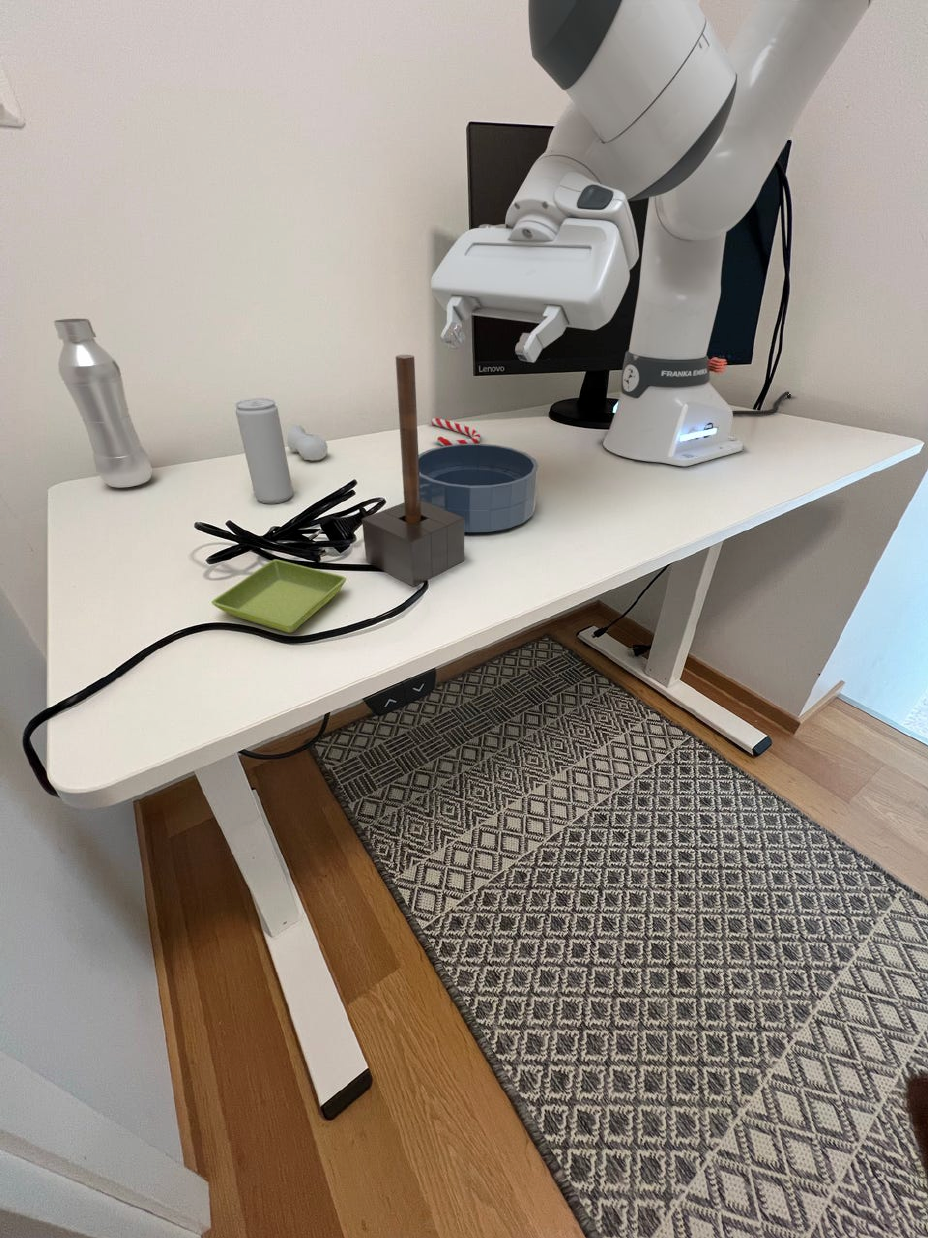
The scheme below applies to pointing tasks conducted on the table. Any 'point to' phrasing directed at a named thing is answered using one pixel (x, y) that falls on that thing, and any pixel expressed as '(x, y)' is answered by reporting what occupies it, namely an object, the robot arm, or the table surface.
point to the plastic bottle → (101, 405)
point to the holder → (414, 542)
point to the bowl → (480, 484)
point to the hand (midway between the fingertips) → (484, 350)
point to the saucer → (280, 595)
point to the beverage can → (264, 449)
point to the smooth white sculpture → (306, 444)
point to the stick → (409, 436)
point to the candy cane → (458, 428)
